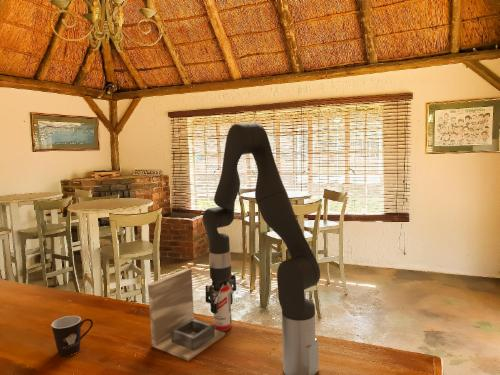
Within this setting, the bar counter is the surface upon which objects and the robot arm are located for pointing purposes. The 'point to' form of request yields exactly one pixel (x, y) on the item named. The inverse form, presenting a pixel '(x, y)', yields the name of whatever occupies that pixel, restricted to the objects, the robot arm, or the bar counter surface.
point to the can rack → (178, 317)
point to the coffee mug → (68, 334)
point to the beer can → (223, 310)
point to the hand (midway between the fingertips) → (222, 308)
